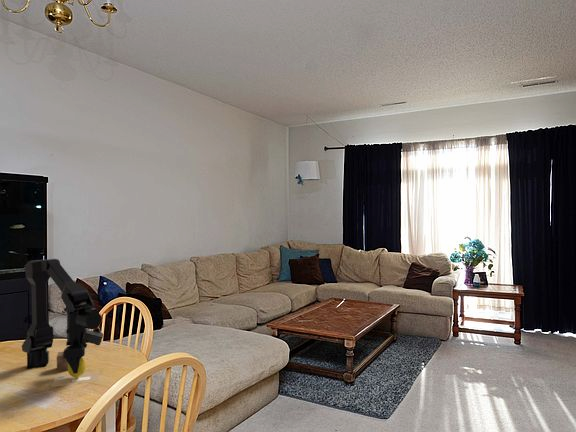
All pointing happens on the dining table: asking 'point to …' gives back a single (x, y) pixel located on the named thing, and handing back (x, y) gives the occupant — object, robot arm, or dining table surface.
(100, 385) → the dining table surface
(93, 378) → the envelope
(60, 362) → the walnut block
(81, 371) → the lemon
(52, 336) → the robot arm
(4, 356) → the dining table surface
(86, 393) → the dining table surface
